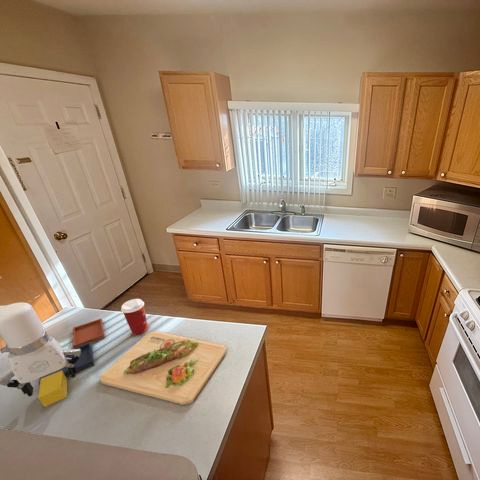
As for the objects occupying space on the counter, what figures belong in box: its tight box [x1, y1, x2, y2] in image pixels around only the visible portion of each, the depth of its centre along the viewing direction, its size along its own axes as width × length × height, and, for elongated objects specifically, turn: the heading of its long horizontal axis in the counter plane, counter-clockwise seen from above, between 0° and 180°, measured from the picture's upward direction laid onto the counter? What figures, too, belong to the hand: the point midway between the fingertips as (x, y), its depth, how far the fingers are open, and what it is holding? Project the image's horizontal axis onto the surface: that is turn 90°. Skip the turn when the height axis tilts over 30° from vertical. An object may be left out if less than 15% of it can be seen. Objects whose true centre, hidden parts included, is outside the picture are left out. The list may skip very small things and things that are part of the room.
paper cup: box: [120, 298, 149, 336], centre depth 104 cm, size 8×8×14 cm
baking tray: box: [38, 342, 95, 385], centre depth 90 cm, size 13×11×2 cm
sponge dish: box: [72, 318, 106, 349], centre depth 103 cm, size 12×9×2 cm
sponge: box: [38, 371, 68, 408], centre depth 80 cm, size 8×5×4 cm, turn 41°
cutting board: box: [99, 330, 228, 406], centre depth 91 cm, size 35×23×8 cm
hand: (53, 383), depth 80 cm, fingers open, 9 cm apart
